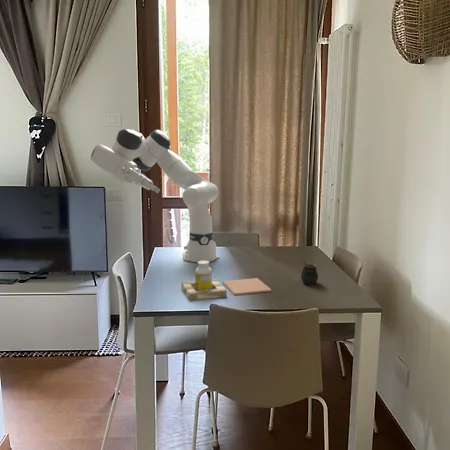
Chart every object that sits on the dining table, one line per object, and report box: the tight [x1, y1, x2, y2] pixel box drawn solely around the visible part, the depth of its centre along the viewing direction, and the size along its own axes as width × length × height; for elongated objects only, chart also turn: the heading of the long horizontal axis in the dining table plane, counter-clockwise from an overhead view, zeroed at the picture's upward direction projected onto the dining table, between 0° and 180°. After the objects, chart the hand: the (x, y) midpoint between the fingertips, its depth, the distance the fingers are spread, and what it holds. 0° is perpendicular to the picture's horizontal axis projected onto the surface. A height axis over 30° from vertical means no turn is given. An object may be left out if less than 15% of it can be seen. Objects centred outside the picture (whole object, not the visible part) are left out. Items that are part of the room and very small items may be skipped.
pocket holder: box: [181, 278, 228, 301], centre depth 193 cm, size 15×15×2 cm
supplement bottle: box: [194, 261, 213, 291], centre depth 192 cm, size 7×7×13 cm
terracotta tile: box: [222, 277, 272, 296], centre depth 199 cm, size 16×16×1 cm
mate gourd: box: [300, 262, 319, 285], centre depth 204 cm, size 7×8×10 cm
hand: (156, 189), depth 186 cm, fingers open, 8 cm apart
